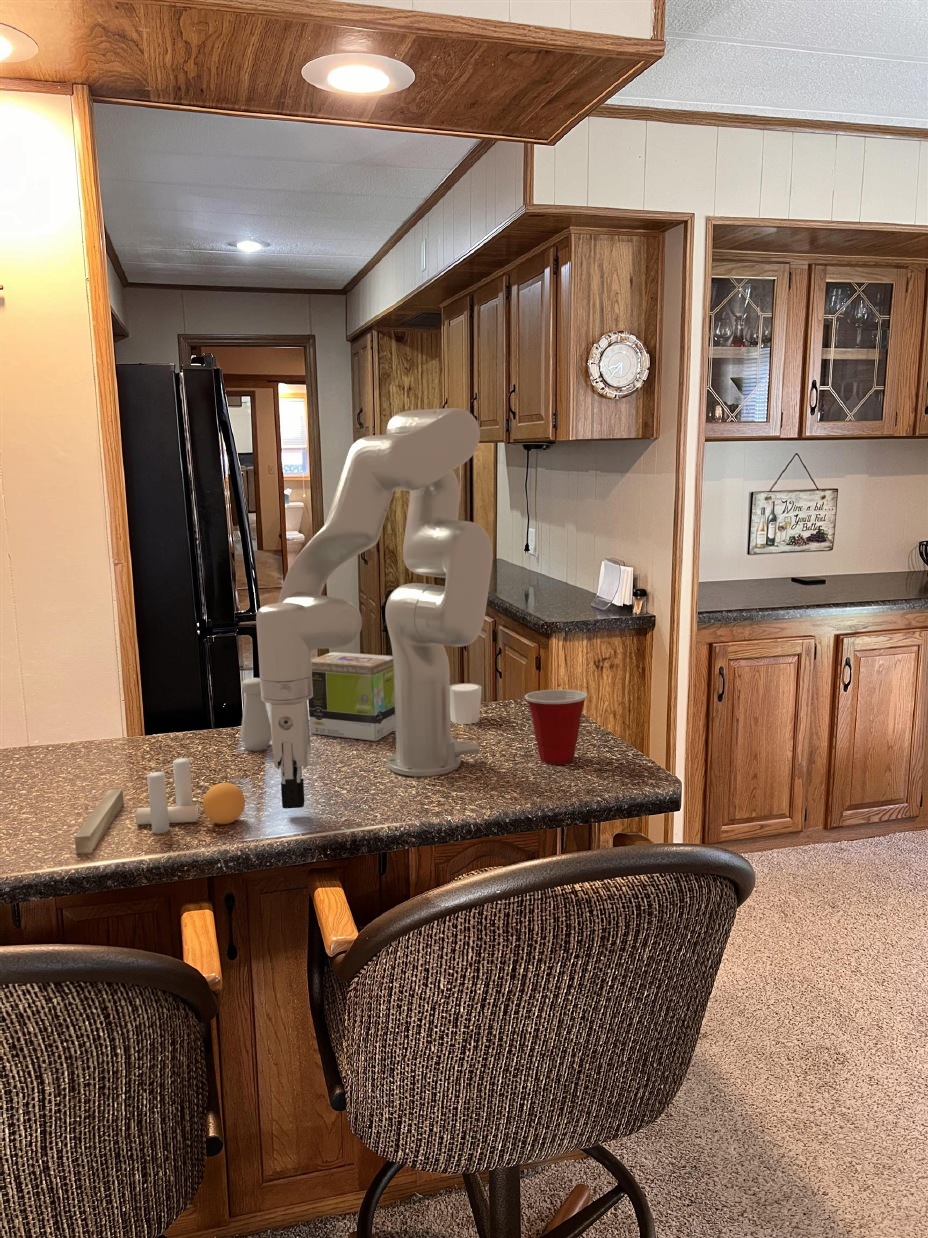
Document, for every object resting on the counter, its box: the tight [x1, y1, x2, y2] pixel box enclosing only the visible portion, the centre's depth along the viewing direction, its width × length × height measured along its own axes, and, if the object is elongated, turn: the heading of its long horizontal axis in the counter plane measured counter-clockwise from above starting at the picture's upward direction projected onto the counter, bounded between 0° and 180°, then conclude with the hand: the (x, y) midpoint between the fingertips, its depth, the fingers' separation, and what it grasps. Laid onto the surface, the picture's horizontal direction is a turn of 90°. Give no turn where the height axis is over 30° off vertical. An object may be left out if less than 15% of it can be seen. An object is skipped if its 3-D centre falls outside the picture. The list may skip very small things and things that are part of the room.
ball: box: [202, 782, 246, 825], centre depth 136 cm, size 6×6×6 cm
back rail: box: [74, 788, 125, 855], centre depth 136 cm, size 2×18×2 cm, turn 6°
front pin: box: [135, 805, 199, 825], centre depth 137 cm, size 2×2×8 cm
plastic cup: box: [524, 689, 589, 765], centre depth 160 cm, size 11×11×12 cm
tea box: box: [307, 651, 396, 742], centre depth 178 cm, size 15×10×15 cm
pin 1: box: [146, 771, 170, 835], centre depth 133 cm, size 2×2×8 cm
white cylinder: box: [450, 682, 483, 725], centre depth 184 cm, size 7×7×7 cm
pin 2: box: [172, 757, 194, 806], centre depth 139 cm, size 2×2×8 cm
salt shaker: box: [240, 677, 272, 752], centre depth 170 cm, size 6×6×13 cm
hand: (293, 805), depth 138 cm, fingers closed
